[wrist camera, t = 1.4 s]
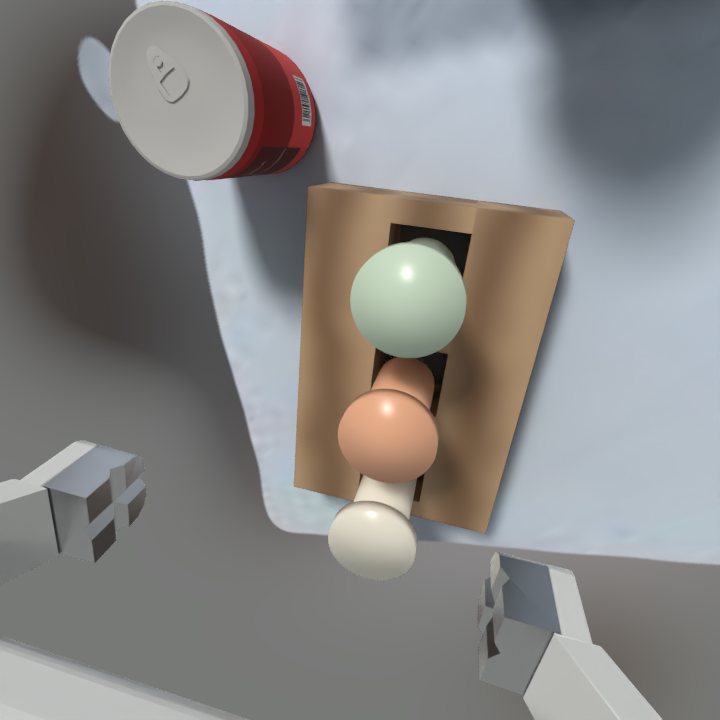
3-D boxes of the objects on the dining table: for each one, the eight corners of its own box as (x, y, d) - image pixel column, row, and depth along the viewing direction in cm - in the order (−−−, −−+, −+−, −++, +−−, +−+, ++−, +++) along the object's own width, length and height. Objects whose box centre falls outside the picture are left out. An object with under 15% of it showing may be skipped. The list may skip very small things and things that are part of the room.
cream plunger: (433, 452, 34) (421, 524, 27) (421, 510, 36) (408, 589, 30) (359, 436, 35) (331, 502, 28) (352, 493, 37) (325, 567, 31)
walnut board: (561, 210, 31) (574, 220, 26) (484, 492, 41) (485, 533, 37) (330, 182, 34) (307, 186, 29) (312, 452, 44) (293, 486, 39)
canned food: (252, 19, 31) (145, -44, 21) (342, 106, 31) (280, 85, 22) (197, 119, 34) (83, 106, 24) (279, 196, 35) (201, 212, 25)
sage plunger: (478, 230, 27) (477, 255, 21) (460, 319, 30) (454, 367, 23) (385, 218, 28) (355, 237, 22) (374, 305, 31) (345, 347, 24)
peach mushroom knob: (453, 353, 31) (445, 408, 24) (438, 424, 33) (428, 493, 26) (371, 338, 32) (341, 387, 25) (362, 408, 34) (334, 470, 27)
